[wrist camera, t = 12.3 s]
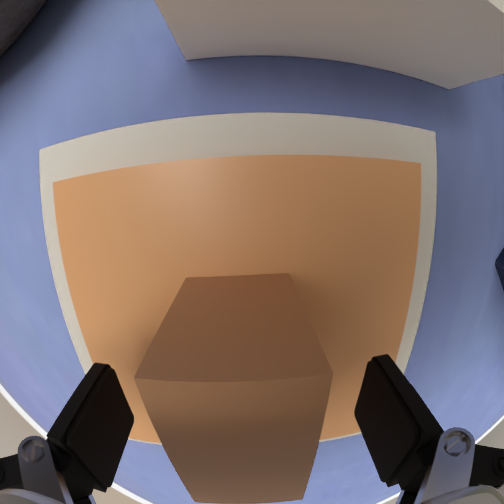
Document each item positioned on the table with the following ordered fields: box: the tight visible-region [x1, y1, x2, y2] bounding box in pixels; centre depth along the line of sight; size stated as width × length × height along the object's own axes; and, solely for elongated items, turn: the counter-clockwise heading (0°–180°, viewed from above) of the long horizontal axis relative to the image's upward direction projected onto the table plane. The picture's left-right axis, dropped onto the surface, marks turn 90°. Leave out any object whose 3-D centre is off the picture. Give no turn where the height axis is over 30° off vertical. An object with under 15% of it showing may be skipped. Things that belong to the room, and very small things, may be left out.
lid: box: [53, 155, 421, 504], centre depth 9 cm, size 16×16×7 cm
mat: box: [40, 113, 437, 445], centre depth 13 cm, size 20×20×1 cm
